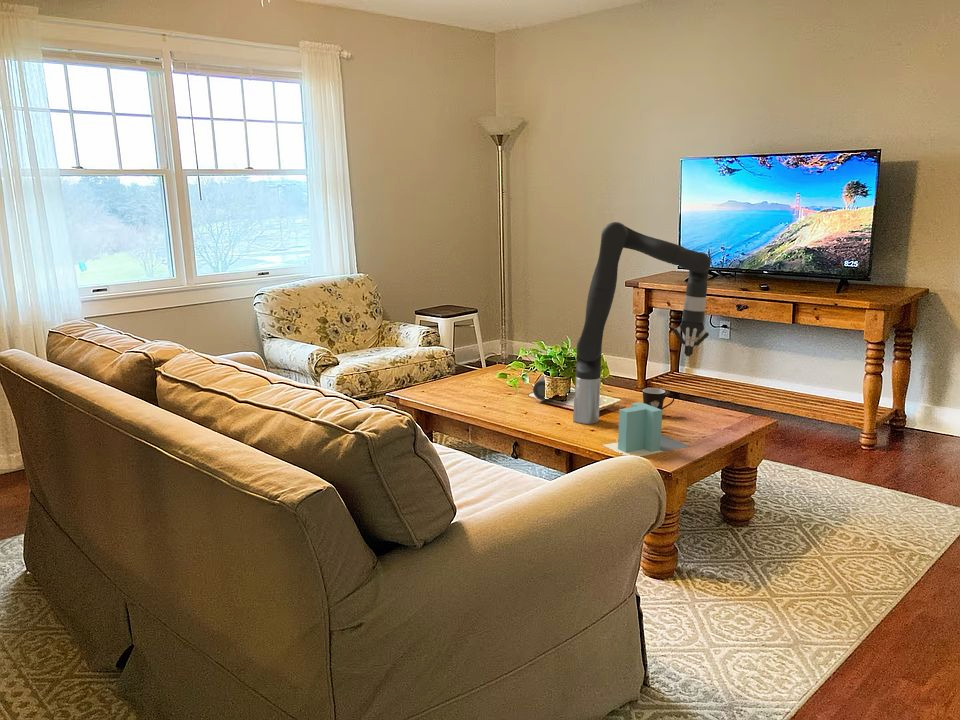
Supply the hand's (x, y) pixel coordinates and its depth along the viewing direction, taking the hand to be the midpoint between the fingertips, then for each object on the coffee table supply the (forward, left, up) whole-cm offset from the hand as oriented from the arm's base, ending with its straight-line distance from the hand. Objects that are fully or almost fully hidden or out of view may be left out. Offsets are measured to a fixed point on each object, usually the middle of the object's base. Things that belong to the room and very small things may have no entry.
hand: (688, 355), depth 285 cm
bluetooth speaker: (-56, +28, -28) cm, 68 cm away
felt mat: (-11, -27, -27) cm, 40 cm away
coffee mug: (-11, +12, -28) cm, 32 cm away
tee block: (-14, -30, -27) cm, 43 cm away
